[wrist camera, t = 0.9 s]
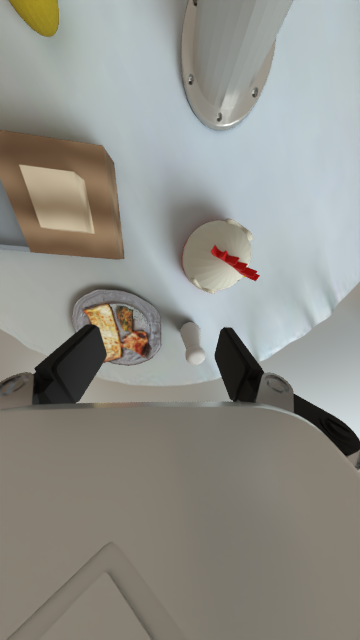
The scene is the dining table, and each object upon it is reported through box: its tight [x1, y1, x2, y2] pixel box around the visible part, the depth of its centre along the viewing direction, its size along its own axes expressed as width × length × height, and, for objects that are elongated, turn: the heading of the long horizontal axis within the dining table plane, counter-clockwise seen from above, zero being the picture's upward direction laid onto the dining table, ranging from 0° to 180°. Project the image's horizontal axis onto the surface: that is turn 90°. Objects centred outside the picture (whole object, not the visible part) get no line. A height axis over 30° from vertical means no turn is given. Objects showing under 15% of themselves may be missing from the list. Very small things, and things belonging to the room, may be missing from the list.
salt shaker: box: [180, 322, 205, 365], centre depth 33 cm, size 6×6×13 cm
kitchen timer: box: [182, 219, 260, 294], centre depth 23 cm, size 14×14×15 cm
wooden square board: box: [0, 130, 124, 259], centre depth 23 cm, size 15×16×4 cm
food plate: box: [72, 290, 161, 366], centre depth 37 cm, size 25×23×4 cm
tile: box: [19, 165, 95, 234], centre depth 20 cm, size 7×7×2 cm
